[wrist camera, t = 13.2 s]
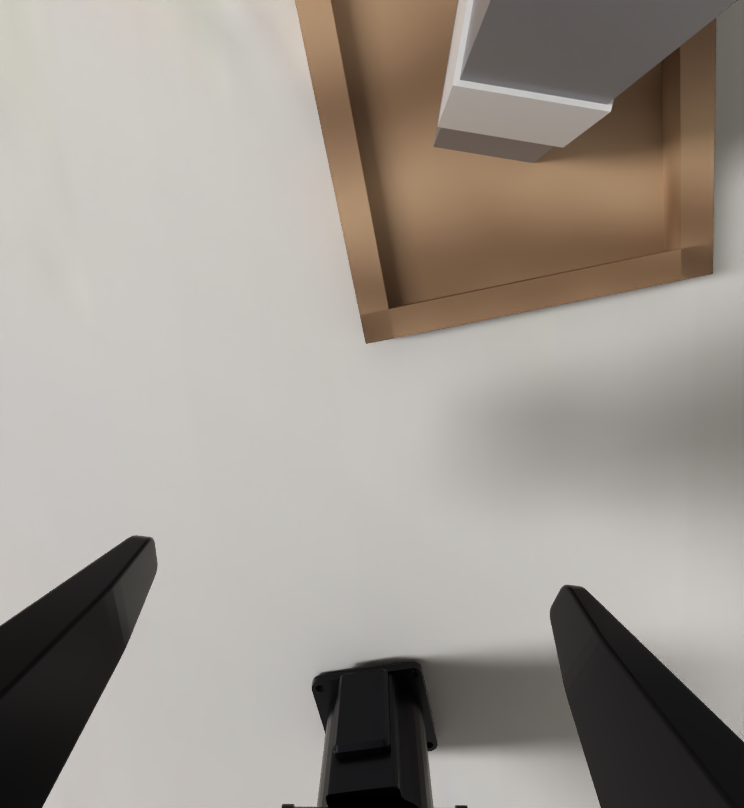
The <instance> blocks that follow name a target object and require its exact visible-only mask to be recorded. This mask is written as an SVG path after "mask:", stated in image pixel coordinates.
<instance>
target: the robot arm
mask: <svg viewBox="0 0 744 808" xmlns="http://www.w3.org/2000/svg"><path fill="white" fill-rule="evenodd" d="M156 571H157V556H156V549H155V542H154V540H153V538H151V537H146V536H131V537H129V538H128V539H126V540H125V541H123V542H122V543H120V544H119V545H117V546H116V547H114V548H113V549H112V550H110V551H109V552H107V553H106V554H104V555H103V556H101V557H100V558H98V559H97V560H95V561H94V562H93V563H91V564H90V565H88V566H87V567H85V568H84V569H82V570H81V571H79V572H78V573H76V574H75V575H74V576H72V577H71V578H69V579H68V580H66V581H65V582H63V583H62V584H60V585H59V586H58V587H56V588H55V589H53V590H52V591H50V592H49V593H47V594H46V595H44V596H43V597H41V598H40V599H39V600H37V601H36V602H34V603H33V604H31V605H30V606H28V607H27V608H25V609H24V610H23V611H21V612H20V613H18V614H17V615H15V616H14V617H12V618H11V619H9V620H8V621H6V622H5V623H4V624H2V625H1V626H0V808H42V807H43V805H44V803H45V801H46V799H47V797H48V795H49V794H50V792H51V790H52V788H53V786H54V784H55V782H56V780H57V778H58V776H59V775H60V773H61V771H62V769H63V767H64V765H65V763H66V761H67V759H68V757H69V755H70V754H71V752H72V750H73V748H74V746H75V744H76V742H77V740H78V738H79V736H80V735H81V733H82V731H83V729H84V727H85V725H86V723H87V721H88V719H89V717H90V716H91V714H92V712H93V710H94V708H95V706H96V704H97V702H98V700H99V698H100V697H101V695H102V693H103V691H104V689H105V687H106V685H107V683H108V681H109V679H110V678H111V676H112V674H113V672H114V670H115V668H116V666H117V664H118V662H119V660H120V658H121V656H122V654H123V652H124V650H125V648H126V646H127V644H128V641H129V639H130V637H131V634H132V632H133V629H134V627H135V624H136V622H137V619H138V617H139V614H140V612H141V610H142V607H143V605H144V602H145V600H146V597H147V595H148V592H149V590H150V587H151V585H152V582H153V580H154V577H155V575H156ZM550 620H551V625H552V630H553V635H554V640H555V644H556V649H557V654H558V659H559V664H560V669H561V673H562V678H563V683H564V687H565V691H566V695H567V698H568V702H569V705H570V708H571V712H572V715H573V718H574V721H575V725H576V728H577V731H578V735H579V738H580V741H581V744H582V748H583V751H584V754H585V757H586V761H587V764H588V767H589V770H590V774H591V777H592V780H593V783H594V787H595V790H596V793H597V796H598V800H599V803H600V806H601V808H744V742H743V741H742V740H741V739H740V738H739V737H738V736H737V735H736V734H735V733H734V732H733V731H732V730H731V729H730V728H729V727H728V726H727V725H725V724H724V723H723V722H722V721H721V720H720V719H719V718H718V717H717V716H716V715H715V714H714V713H713V712H712V711H711V710H710V709H709V708H708V707H707V706H706V705H705V704H704V703H703V702H702V701H701V700H700V699H699V698H698V697H697V696H696V695H694V694H693V693H692V692H691V691H690V690H689V689H688V688H687V687H686V686H685V685H684V684H683V683H682V682H681V681H680V680H679V679H678V678H677V677H676V676H675V675H674V674H673V673H672V672H671V671H670V670H669V669H668V668H667V667H666V666H665V665H664V664H662V663H661V662H660V661H659V660H658V659H657V658H656V657H655V656H654V655H653V654H652V653H651V652H650V651H649V650H648V649H647V648H646V647H645V646H644V645H643V644H642V643H641V642H640V641H639V640H638V639H637V638H636V637H635V636H634V635H633V634H631V633H630V632H629V631H628V630H627V629H626V628H625V627H624V626H623V625H622V624H621V623H620V622H619V621H618V620H617V619H616V618H615V617H614V616H613V615H612V614H611V613H610V612H609V611H608V610H607V609H606V608H605V607H604V606H603V605H602V604H601V603H599V602H598V601H597V600H596V599H595V598H594V597H593V596H592V595H591V594H590V593H589V592H588V591H587V590H586V589H585V588H583V587H580V586H573V585H564V586H563V587H562V588H561V589H560V591H559V593H558V595H557V597H556V599H555V601H554V602H553V604H552V606H551V609H550ZM412 671H415V672H412ZM321 685H322V686H321ZM312 692H313V695H314V698H315V701H316V705H317V708H318V711H319V714H320V718H321V721H322V724H323V727H324V730H325V734H326V735H325V744H324V752H323V760H322V769H321V777H320V786H319V794H318V803H317V807H294V804H283V805H282V808H433V799H432V790H431V780H430V771H429V761H428V752H427V751H432V750H434V749H436V747H437V738H436V733H435V728H434V724H433V719H432V714H431V710H430V705H429V700H428V696H427V691H426V687H425V682H424V677H423V673H422V668H421V666H420V664H418V663H416V662H408V663H401V664H395V665H388V666H381V667H374V668H367V669H361V670H354V671H347V672H340V673H334V674H327V675H320V676H316V677H315V678H314V679H313V682H312ZM455 808H467V806H465V805H455Z"/></svg>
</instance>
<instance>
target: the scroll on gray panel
mask: <svg viewBox="0 0 744 808" xmlns="http://www.w3.org/2000/svg"><path fill="white" fill-rule="evenodd" d="M736 1H737V0H458V2H457V8H456V14H455V20H454V26H453V32H452V38H451V44H450V50H449V56H448V62H447V68H446V74H445V80H444V86H443V92H442V98H441V104H440V110H439V116H438V122H437V128H436V134H435V140H434V146H433V147H438V148H444V149H450V150H456V151H462V152H468V153H474V154H481V155H487V156H493V157H499V158H505V159H511V160H517V161H523V162H529V163H534V162H536V161H537V160H538V159H539V158H541V157H542V156H543V155H544V154H546V153H547V152H548V151H549V150H551V149H552V148H553V147H554V146H556V147H562V148H563V147H565V146H566V145H567V144H569V143H570V142H571V141H573V140H574V139H575V138H577V137H578V136H579V135H581V134H582V133H583V132H585V131H586V130H587V129H589V128H590V127H591V126H593V125H594V124H595V123H597V122H598V121H599V120H601V119H602V118H603V117H605V116H606V115H607V114H608V113H610V112H611V109H612V105H613V101H614V98H616V97H617V96H618V95H619V94H621V93H622V92H623V91H624V90H626V89H627V88H628V87H629V86H631V85H632V84H633V83H634V82H636V81H637V80H638V79H639V78H641V77H642V76H643V75H645V74H646V73H647V72H648V71H650V70H651V69H652V68H653V67H655V66H656V65H657V64H658V63H660V62H661V61H662V60H663V59H665V58H666V57H667V56H668V55H670V54H671V53H672V52H673V51H675V50H676V49H677V48H678V47H680V46H681V45H682V44H683V43H685V42H686V41H687V40H688V39H690V38H691V37H692V36H693V35H695V34H696V33H697V32H698V31H700V30H701V29H702V28H703V27H705V26H706V25H707V24H708V23H710V22H711V21H712V20H713V19H715V18H716V17H717V16H718V15H720V14H721V13H722V12H723V11H725V10H726V9H727V8H728V7H730V6H731V5H732V4H733V3H735V2H736Z"/></svg>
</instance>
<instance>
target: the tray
mask: <svg viewBox="0 0 744 808" xmlns="http://www.w3.org/2000/svg"><path fill="white" fill-rule="evenodd" d="M457 2H458V0H295V3H296V8H297V13H298V17H299V22H300V27H301V32H302V37H303V42H304V46H305V51H306V56H307V61H308V66H309V71H310V75H311V80H312V85H313V90H314V95H315V100H316V105H317V109H318V114H319V119H320V124H321V129H322V134H323V138H324V143H325V148H326V153H327V158H328V163H329V167H330V172H331V177H332V182H333V187H334V192H335V196H336V201H337V206H338V211H339V216H340V221H341V226H342V230H343V235H344V240H345V245H346V250H347V255H348V259H349V264H350V269H351V274H352V279H353V284H354V288H355V293H356V298H357V303H358V308H359V313H360V318H361V322H362V327H363V332H364V337H365V342H366V344H368V343H373V342H378V341H383V340H388V339H392V338H397V337H402V336H407V335H412V334H417V333H422V332H427V331H432V330H437V329H442V328H447V327H452V326H457V325H462V324H467V323H472V322H477V321H482V320H487V319H492V318H497V317H502V316H507V315H511V314H516V313H521V312H526V311H531V310H536V309H541V308H546V307H551V306H556V305H561V304H566V303H571V302H576V301H581V300H586V299H591V298H596V297H601V296H606V295H611V294H616V293H621V292H625V291H630V290H635V289H640V288H645V287H650V286H655V285H660V284H665V283H670V282H675V281H680V280H685V279H690V278H695V277H700V276H705V275H710V274H713V214H714V142H715V70H716V18H715V19H713V20H712V21H711V22H710V23H708V24H707V25H706V26H705V27H703V28H702V29H701V30H700V31H698V32H697V33H696V34H695V35H693V36H692V37H691V38H690V39H688V40H687V41H686V42H685V43H683V44H682V45H681V46H680V47H678V48H677V49H676V50H675V51H673V52H672V53H671V54H670V55H668V56H667V57H666V58H665V59H663V60H662V61H661V62H660V63H658V64H657V65H656V66H655V67H653V68H652V69H651V70H650V71H648V72H647V73H646V74H645V75H643V76H642V77H641V78H639V79H638V80H637V81H636V82H634V83H633V84H632V85H631V86H629V87H628V88H627V89H626V90H624V91H623V92H622V93H621V94H619V95H618V96H617V97H616V98H614V101H613V105H612V109H611V112H610V113H608V114H607V115H606V116H605V117H603V118H602V119H601V120H599V121H598V122H597V123H595V124H594V125H593V126H591V127H590V128H589V129H587V130H586V131H585V132H583V133H582V134H581V135H579V136H578V137H577V138H575V139H574V140H573V141H571V142H570V143H569V144H567V145H566V146H565V147H563V148H562V147H556V146H554V147H553V148H552V149H551V150H549V151H548V152H547V153H546V154H544V155H543V156H542V157H541V158H539V159H538V160H537V161H536V162H534V163H529V162H523V161H517V160H511V159H505V158H499V157H493V156H487V155H481V154H474V153H468V152H462V151H456V150H450V149H444V148H438V147H433V146H434V140H435V134H436V128H437V122H438V116H439V110H440V104H441V98H442V92H443V86H444V80H445V74H446V68H447V62H448V56H449V50H450V44H451V38H452V32H453V26H454V20H455V14H456V8H457Z"/></svg>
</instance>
